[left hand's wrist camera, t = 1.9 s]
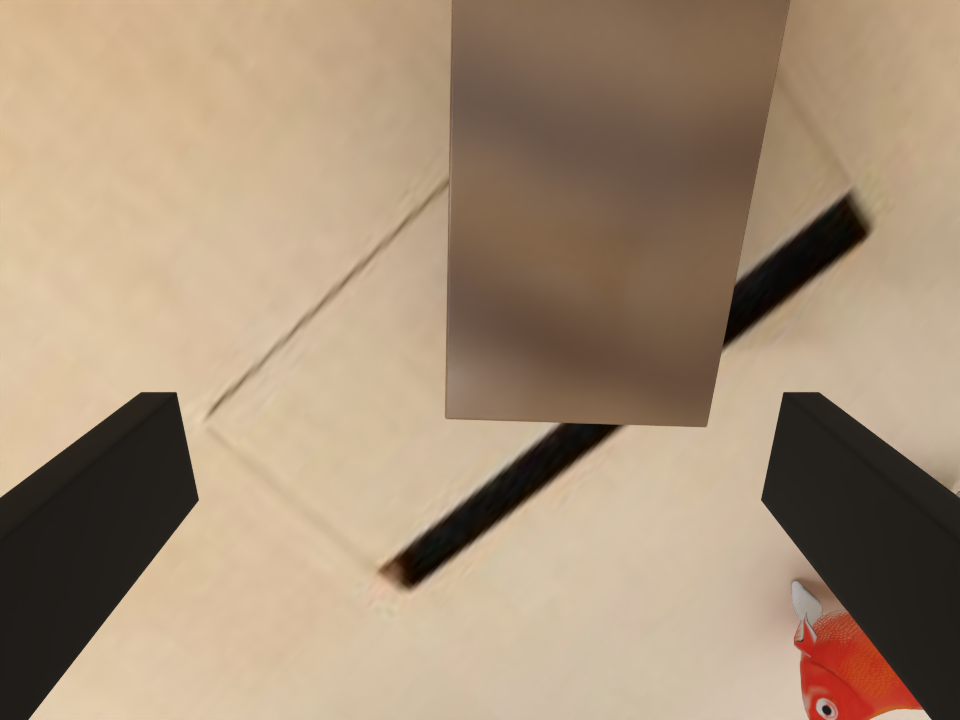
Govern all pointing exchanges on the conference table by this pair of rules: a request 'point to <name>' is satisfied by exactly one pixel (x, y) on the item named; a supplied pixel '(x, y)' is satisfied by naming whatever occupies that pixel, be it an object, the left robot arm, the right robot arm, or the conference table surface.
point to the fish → (842, 666)
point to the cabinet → (600, 202)
